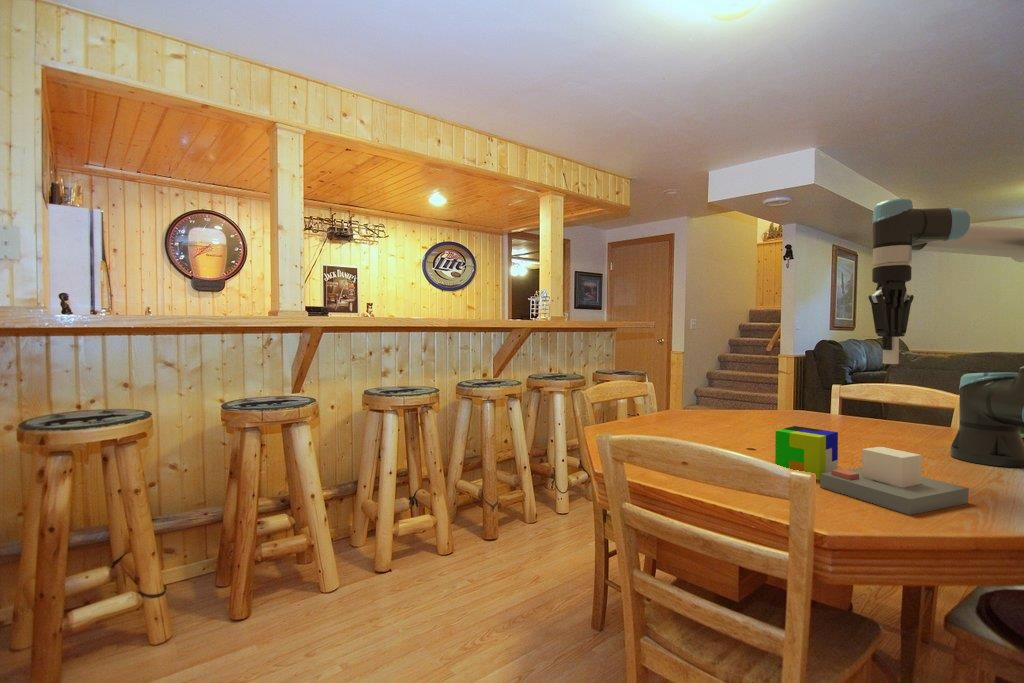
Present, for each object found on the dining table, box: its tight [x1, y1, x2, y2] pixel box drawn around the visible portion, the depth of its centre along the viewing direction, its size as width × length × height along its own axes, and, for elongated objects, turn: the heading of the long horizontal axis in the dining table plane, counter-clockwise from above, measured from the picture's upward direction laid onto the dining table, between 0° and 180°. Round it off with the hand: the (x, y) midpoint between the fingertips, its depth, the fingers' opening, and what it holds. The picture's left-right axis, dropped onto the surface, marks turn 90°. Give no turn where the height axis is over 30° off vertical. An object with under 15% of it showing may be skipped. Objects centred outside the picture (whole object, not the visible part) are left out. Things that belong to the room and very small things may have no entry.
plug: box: [861, 446, 922, 488], centre depth 105 cm, size 6×8×9 cm
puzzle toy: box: [774, 425, 839, 481], centre depth 122 cm, size 10×10×10 cm
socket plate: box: [819, 466, 970, 516], centre depth 105 cm, size 18×18×4 cm
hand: (890, 363), depth 121 cm, fingers closed
